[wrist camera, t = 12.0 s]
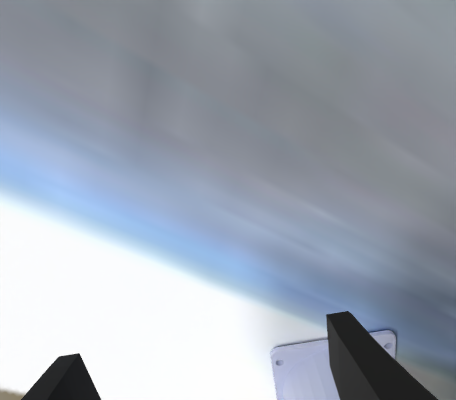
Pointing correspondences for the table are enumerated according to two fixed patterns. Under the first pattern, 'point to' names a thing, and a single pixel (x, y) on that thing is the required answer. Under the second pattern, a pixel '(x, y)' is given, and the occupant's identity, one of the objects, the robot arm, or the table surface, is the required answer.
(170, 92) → the table surface
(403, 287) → the table surface
